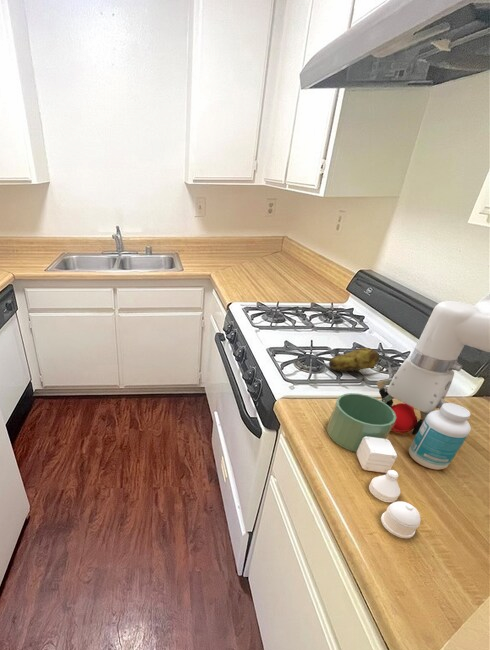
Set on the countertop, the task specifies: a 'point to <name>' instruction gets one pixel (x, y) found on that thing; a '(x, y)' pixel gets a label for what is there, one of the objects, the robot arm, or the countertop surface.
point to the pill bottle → (440, 436)
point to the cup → (359, 420)
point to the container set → (387, 486)
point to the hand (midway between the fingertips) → (399, 423)
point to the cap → (404, 418)
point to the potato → (355, 360)
